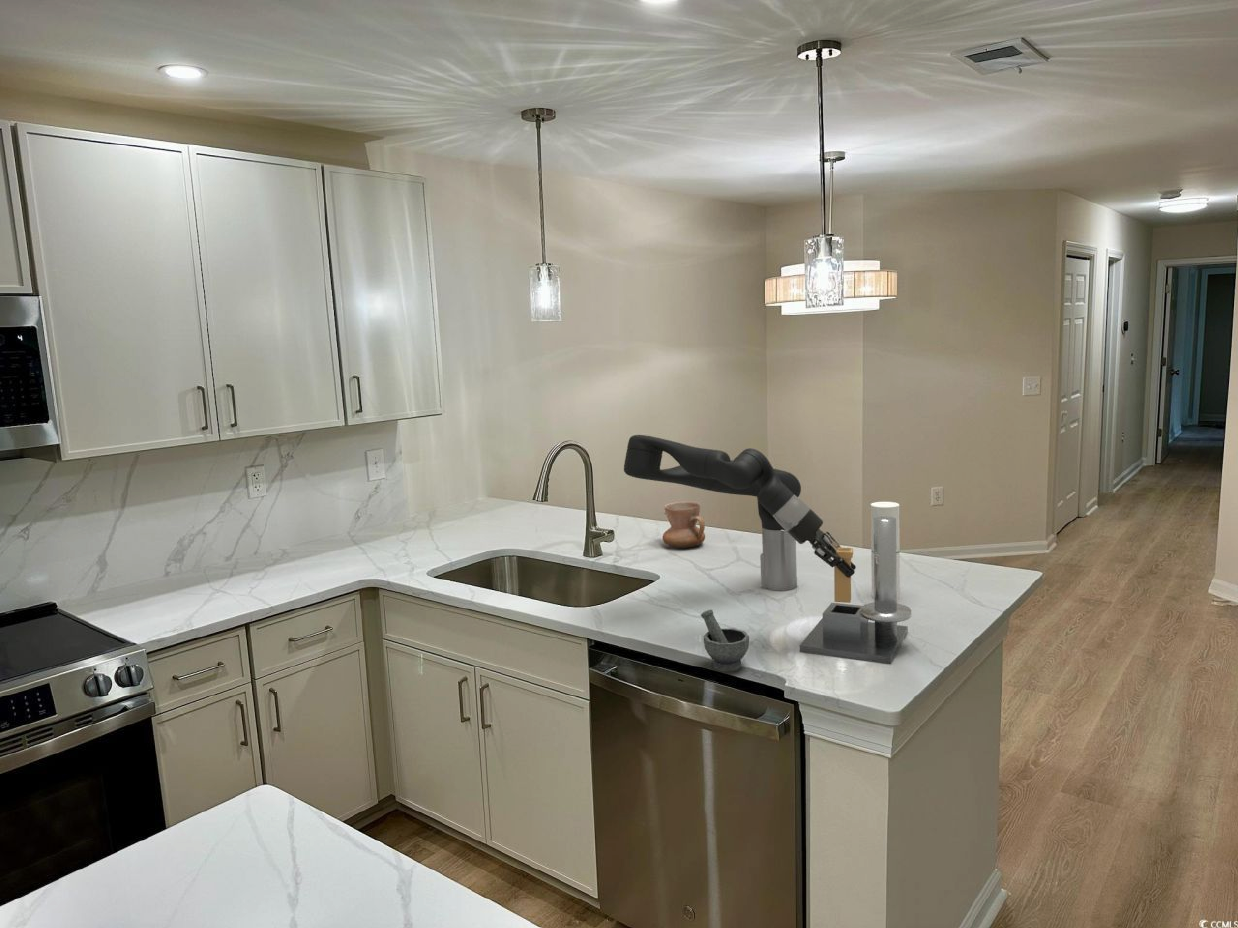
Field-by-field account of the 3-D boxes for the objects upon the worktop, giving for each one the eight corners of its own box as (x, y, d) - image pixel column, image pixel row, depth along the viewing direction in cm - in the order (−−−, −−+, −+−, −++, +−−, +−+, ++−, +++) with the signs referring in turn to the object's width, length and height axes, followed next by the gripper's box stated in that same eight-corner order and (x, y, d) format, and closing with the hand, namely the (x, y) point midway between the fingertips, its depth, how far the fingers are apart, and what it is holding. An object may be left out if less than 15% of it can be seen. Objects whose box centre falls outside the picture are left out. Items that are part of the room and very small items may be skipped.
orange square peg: (832, 602, 195) (832, 551, 194) (833, 597, 199) (833, 547, 197) (852, 603, 194) (852, 552, 192) (853, 598, 198) (853, 547, 196)
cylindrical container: (881, 602, 223) (880, 508, 219) (866, 594, 230) (865, 503, 226) (905, 598, 225) (904, 505, 221) (889, 590, 232) (889, 500, 228)
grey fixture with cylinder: (799, 651, 194) (796, 524, 189) (823, 622, 211) (820, 505, 206) (902, 665, 183) (902, 531, 178) (918, 633, 200) (918, 510, 195)
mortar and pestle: (758, 664, 188) (756, 611, 186) (733, 678, 181) (731, 624, 179) (716, 652, 196) (714, 602, 194) (691, 666, 189) (689, 614, 187)
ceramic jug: (651, 545, 294) (649, 505, 291) (683, 537, 302) (681, 498, 300) (687, 554, 280) (685, 512, 277) (719, 546, 288) (717, 504, 286)
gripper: (790, 522, 205) (843, 574, 203) (781, 537, 191) (838, 592, 189) (812, 501, 202) (866, 553, 200) (805, 514, 189) (862, 570, 187)
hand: (852, 572), depth 195 cm, fingers closed on orange square peg, 3 cm apart
